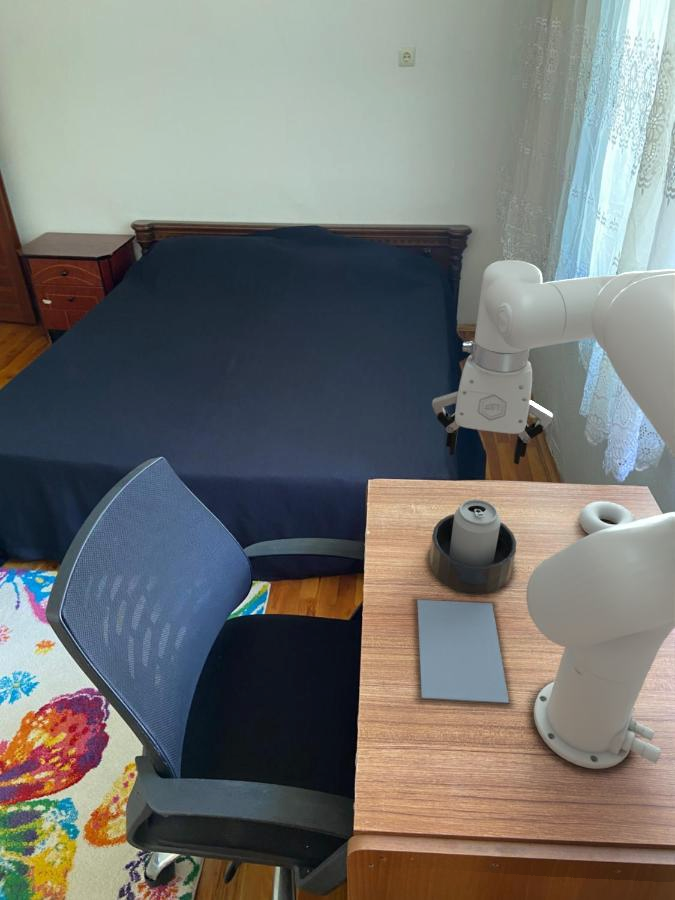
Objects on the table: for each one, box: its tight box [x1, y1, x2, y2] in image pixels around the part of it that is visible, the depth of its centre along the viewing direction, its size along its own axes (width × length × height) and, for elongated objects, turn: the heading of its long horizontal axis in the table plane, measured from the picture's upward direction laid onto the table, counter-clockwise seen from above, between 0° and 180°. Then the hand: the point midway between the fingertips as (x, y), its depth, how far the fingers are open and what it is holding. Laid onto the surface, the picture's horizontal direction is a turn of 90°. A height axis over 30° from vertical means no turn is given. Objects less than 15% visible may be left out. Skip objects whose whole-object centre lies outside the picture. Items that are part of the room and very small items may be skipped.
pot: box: [429, 513, 517, 595], centre depth 109 cm, size 14×14×6 cm
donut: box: [579, 500, 637, 535], centre depth 118 cm, size 10×4×10 cm
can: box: [449, 498, 502, 566], centre depth 108 cm, size 8×8×12 cm
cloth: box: [416, 599, 510, 705], centre depth 96 cm, size 18×12×1 cm, turn 176°
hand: (484, 454), depth 98 cm, fingers open, 9 cm apart
